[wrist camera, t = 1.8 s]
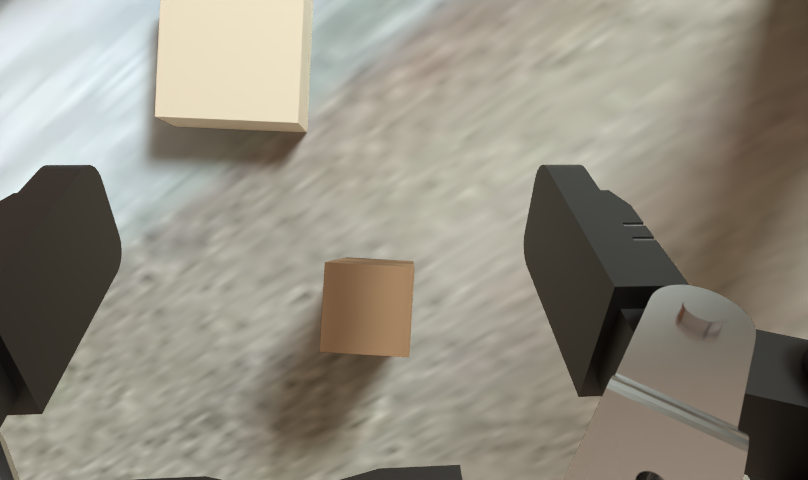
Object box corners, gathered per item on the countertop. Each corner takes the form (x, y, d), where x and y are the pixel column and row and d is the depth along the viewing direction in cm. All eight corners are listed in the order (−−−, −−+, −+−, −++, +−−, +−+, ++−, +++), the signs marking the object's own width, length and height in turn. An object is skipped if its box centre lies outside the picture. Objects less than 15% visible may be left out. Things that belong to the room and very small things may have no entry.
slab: (314, 2, 39) (304, -22, 36) (308, 133, 39) (298, 122, 36) (183, -3, 39) (161, -27, 36) (177, 127, 39) (154, 116, 36)
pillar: (413, 261, 39) (414, 267, 29) (409, 327, 39) (409, 357, 29) (347, 257, 39) (324, 262, 29) (342, 323, 39) (319, 351, 29)
